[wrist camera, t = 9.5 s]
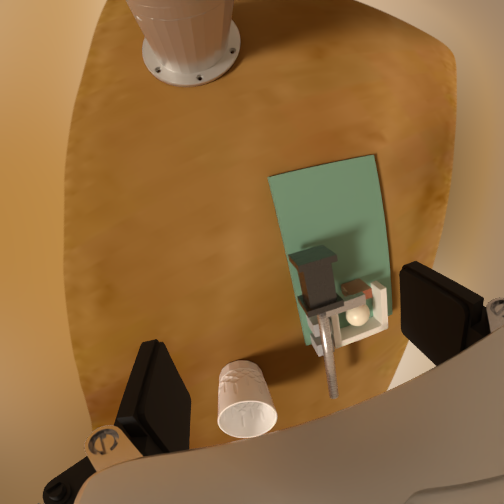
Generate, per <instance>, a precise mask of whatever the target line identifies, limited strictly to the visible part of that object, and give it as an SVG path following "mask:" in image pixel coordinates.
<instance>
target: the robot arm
mask: <svg viewBox="0 0 504 504" xmlns="http://www.w3.org/2000/svg"><path fill="white" fill-rule="evenodd" d="M126 1H127V3H128V5H129V7H130V9H131V11H132V13H133V15H134V17H135V18H136V20H137V22H138V24H139V26H140V28H141V30H142V32H143V34H144V36H145V39H144V41H143V47H142V53H143V59H144V62H145V64H146V66H147V68H148V69H149V71H150V72H151V73H152V74H153V75H154V76H155V77H156V78H158V79H159V80H161V81H163V82H165V83H167V84H170V85H173V86H179V87H194V86H199V85H204V84H206V83H209V82H212V81H214V80H215V79H217V78H219V77H221V76H222V75H223V74H224V73H226V72H227V71H228V70H229V69H230V68H231V66H232V65H233V64H234V62H235V60H236V59H237V57H238V53H239V50H240V44H241V40H240V33H239V30H238V28H237V26H236V24H235V23H234V21H233V20H232V19H231V18H232V11H233V5H234V0H126ZM231 52H234V54H231ZM158 71H161V72H159V73H157V72H158ZM199 78H202V80H201V81H199V80H198V79H199ZM399 276H400V300H401V330H402V333H403V334H404V335H405V336H406V337H407V338H408V339H409V340H410V341H411V342H412V343H413V344H414V345H415V346H416V347H417V348H418V349H419V350H420V351H421V352H422V353H424V354H425V355H426V356H427V357H428V358H429V359H430V360H431V361H432V362H433V363H434V364H435V365H436V367H434V368H432V369H431V370H429V371H427V372H425V373H423V374H421V375H419V376H417V377H415V378H413V379H411V380H409V381H407V382H405V383H403V384H401V385H399V386H397V387H395V388H393V389H391V390H388V391H386V392H384V393H382V394H380V395H377V396H375V397H373V398H370V399H368V400H366V401H363V402H361V403H358V404H356V405H353V406H351V407H348V408H346V409H343V410H340V411H338V412H335V413H332V414H329V415H327V416H324V417H321V418H318V419H315V420H312V421H309V422H306V423H303V424H299V425H296V426H293V427H289V428H286V429H283V430H279V431H275V432H272V433H268V434H264V435H260V436H256V437H252V438H248V439H243V440H239V441H234V442H229V443H224V444H219V445H213V446H208V447H202V448H195V449H189V436H190V414H191V398H190V395H189V392H188V391H187V389H186V387H185V385H184V383H183V381H182V379H181V377H180V375H179V373H178V371H177V369H176V367H175V365H174V363H173V361H172V359H171V357H170V355H169V353H168V350H167V348H166V346H165V344H164V343H163V342H159V341H158V340H157V339H155V340H151V341H146V342H142V344H141V346H140V349H139V352H138V355H137V357H136V360H135V363H134V366H133V369H132V371H131V374H130V377H129V380H128V383H127V386H126V389H125V392H124V395H123V398H122V401H121V404H120V407H119V410H118V414H117V417H116V420H115V423H114V426H113V425H107V426H103V427H100V428H98V429H96V430H94V431H93V432H92V433H91V434H90V435H89V436H88V437H87V439H86V441H85V446H84V449H85V452H86V454H87V456H86V457H85V458H84V459H82V460H81V461H79V462H78V463H76V464H75V465H73V466H72V467H70V468H69V469H67V470H66V471H64V472H63V473H61V474H60V475H59V476H57V477H55V478H54V479H53V480H51V481H50V482H49V483H48V484H47V485H46V487H45V488H44V491H43V500H44V504H504V298H495V299H493V300H491V301H490V302H488V304H487V306H486V307H484V306H483V301H484V298H483V297H481V296H480V295H478V294H476V293H474V292H473V291H471V290H469V289H467V288H465V287H464V286H462V285H460V284H458V283H457V282H455V281H453V280H451V279H449V278H447V277H446V276H444V275H442V274H440V273H438V272H436V271H434V270H432V269H431V268H429V267H427V266H425V265H423V264H421V263H419V262H417V261H414V262H411V263H409V264H406V265H404V266H403V267H402V270H401V271H400V274H399ZM38 504H40V503H38Z"/></svg>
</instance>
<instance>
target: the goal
mask: <svg viewBox="0 0 504 504" xmlns="http://www.w3.org/2000/svg"><path fill="white" fill-rule="evenodd" d="M371 288H372V305H373V317H371V318H369V319H368V321H367V322H366V323H365V324H363V325H361V326H353V325H349V326H347V327H344V328H341V329H340V325H339V317H338V314H336V315H333V316H330V317H328V318H329V319H330V323H331V330H332V332H330V333H331V338H332V340H333V344H334V347H335V348H339V347H342V346H344V345H347V344H350V343H353V342H355V341H358V340H360V339H363V338H365V337H368V336H371V335H373V334H375V333H378V332H380V331H383V330H385V329H388V312H387V292H386V287H384V286H383V285H382V284H380V283H379V282H378V281H374V282H371Z"/></svg>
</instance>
